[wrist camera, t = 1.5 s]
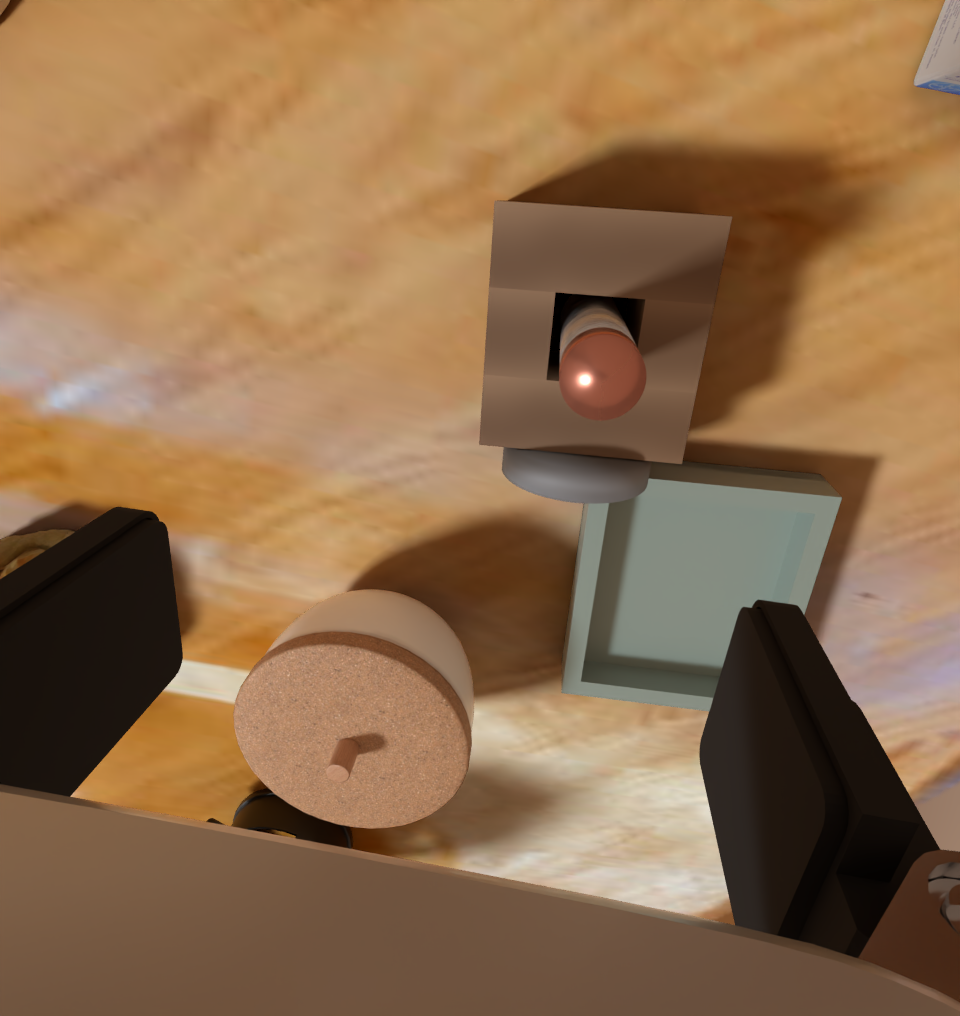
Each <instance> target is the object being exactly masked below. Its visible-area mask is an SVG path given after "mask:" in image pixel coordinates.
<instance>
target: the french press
mask: <svg viewBox="0 0 960 1016" xmlns="http://www.w3.org/2000/svg"><path fill="white" fill-rule="evenodd" d="M206 822H210V823H215V824H221V825H224V824H222V823H221V822H219V821H217V820H215V819H213V818H210V819H208V820H207V821H206ZM232 827H237V828H242V829H248V830H251V829H272V830H278V831H282V832H286V833H289V834H292V835H294V836H296V839H301V840H306V841H312V842H317V843H322V844H327V845H333V846H338V847H343V848H349V849H352V844H353V839H352V833H351V830H350V828H349V826H345V825H339V824H335V823H332V822H329V821H325V820H322V819H319V818H317V817H314V816H312V815H309V814H307V813H305V812H303V811H301V810H299V809H297V808H296V807H294V806H292V805H290V804H289V803H287V802H286V801H284V800H283V799H282V798H280V797H279V796H277V795H276V794H275V793H274V792H272V791H271V790H270V789H269V788H268V789H264V790H260V791H257V792H255V793H253V794H251V795H249V796H248V797H247V798H246V799H245V800H243V801H242V802H241V804H240V805H239V807H238V808H237V810H236V812H235V816H234V819H233V824H232Z"/></svg>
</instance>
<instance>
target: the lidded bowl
mask: <svg viewBox="0 0 960 1016" xmlns="http://www.w3.org/2000/svg"><path fill="white" fill-rule="evenodd" d="M473 717H474V689H473V680H472V674H471V669H470V665H469V661H468V659H467V656H466V654H465V652H464V649H463V647H462V645H461V642H460V640H459V639H458V637H457V636H456V634H455V633H454V631H453V630H452V629H451V628H450V626H449V625H448V624H447V623H446V622H445V621H444V620H443V619H442V618H441V616H439V615H438V614H437V613H436V612H435V611H433V610H432V609H431V608H429V607H428V606H426V605H425V604H423V603H421V602H420V601H418V600H416V599H413V598H411V597H409V596H407V595H403V594H400V593H397V592H393V591H387V590H377V589H365V590H356V591H349V592H345V593H341V594H337V595H335V596H333V597H331V598H328V599H326V600H324V601H322V602H319V603H317V604H316V605H314V606H313V607H311V608H310V609H308V610H307V611H305V612H304V613H303V614H302V615H300V616H299V617H298V618H296V619H295V620H294V621H293V622H292V623H291V624H290V625H289V626H288V627H287V628H286V629H285V630H284V631H283V633H282V634H281V635H280V636H279V637H278V638H277V639H276V640H275V642H274V643H273V644H272V646H271V647H270V648H269V650H268V651H267V653H266V654H265V656H264V657H263V658H262V659H261V660H260V661H259V662H258V663H257V664H256V665H255V666H254V667H253V669H252V670H251V672H250V673H249V675H248V676H247V678H246V679H245V681H244V682H243V684H242V686H241V688H240V690H239V693H238V695H237V698H236V702H235V708H234V728H235V732H236V736H237V741H238V745H239V747H240V749H241V751H242V753H243V756H244V758H245V759H246V761H247V763H248V764H249V766H250V767H251V769H252V771H253V772H254V773H255V774H256V775H257V776H258V778H259V779H260V780H261V781H262V782H263V783H264V784H265V785H266V786H267V787H268V788H269V789H270V790H271V791H272V792H274V793H275V794H276V795H277V796H279V797H280V798H282V799H283V800H284V801H286V802H287V803H289V804H290V805H292V806H294V807H296V808H297V809H299V810H301V811H303V812H305V813H307V814H309V815H312V816H314V817H317V818H319V819H322V820H325V821H329V822H332V823H335V824H339V825H345V826H350V827H358V828H370V829H372V828H389V827H395V826H402V825H406V824H409V823H412V822H415V821H418V820H420V819H422V818H425V817H427V816H429V815H431V814H433V813H434V812H435V811H437V810H438V809H440V808H441V807H442V806H444V805H445V804H446V803H447V802H448V801H449V800H450V799H451V798H452V797H453V796H454V795H455V794H456V792H457V791H458V789H459V788H460V786H461V785H462V783H463V781H464V778H465V776H466V773H467V770H468V766H469V759H470V753H471V746H472V739H471V732H472V725H473Z"/></svg>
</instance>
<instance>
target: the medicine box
mask: <svg viewBox="0 0 960 1016" xmlns="http://www.w3.org/2000/svg"><path fill="white" fill-rule="evenodd" d="M914 85H915V86H917V87H922V88H928V89H933V90H938V91H943V92H947V93H952V94H958V95H960V0H945V3H944V5H943V7H942V10H941V13H940V15H939V18H938V20H937V23H936V25H935V28H934V31H933V33H932V36H931V38H930V41H929V43H928V46H927V48H926V51H925V53H924V56H923V58H922V61H921V64H920V66H919V69H918V71H917V74H916V76H915V79H914Z"/></svg>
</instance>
